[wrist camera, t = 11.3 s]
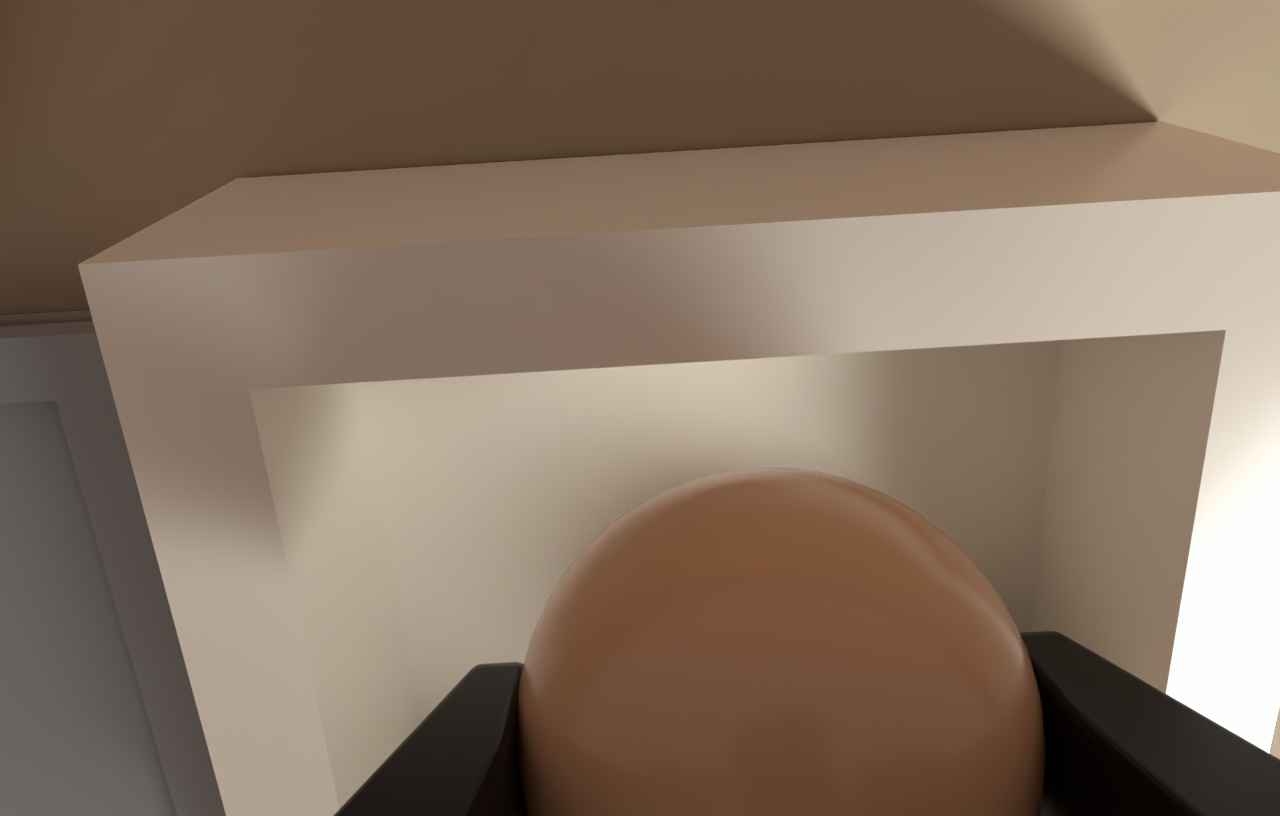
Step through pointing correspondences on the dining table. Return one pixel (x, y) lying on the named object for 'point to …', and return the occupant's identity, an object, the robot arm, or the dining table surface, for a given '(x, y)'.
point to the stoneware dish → (693, 402)
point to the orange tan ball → (777, 664)
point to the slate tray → (84, 600)
